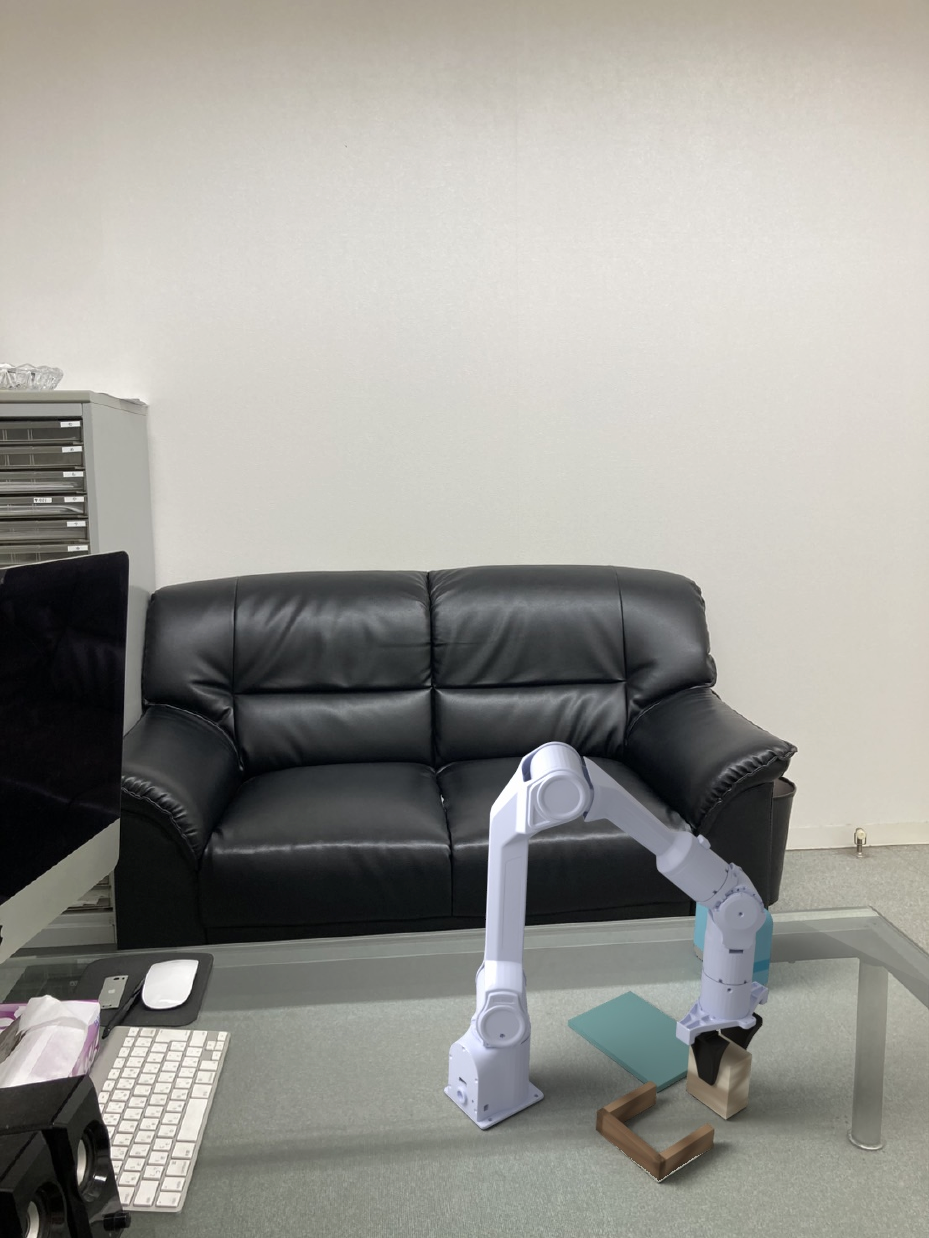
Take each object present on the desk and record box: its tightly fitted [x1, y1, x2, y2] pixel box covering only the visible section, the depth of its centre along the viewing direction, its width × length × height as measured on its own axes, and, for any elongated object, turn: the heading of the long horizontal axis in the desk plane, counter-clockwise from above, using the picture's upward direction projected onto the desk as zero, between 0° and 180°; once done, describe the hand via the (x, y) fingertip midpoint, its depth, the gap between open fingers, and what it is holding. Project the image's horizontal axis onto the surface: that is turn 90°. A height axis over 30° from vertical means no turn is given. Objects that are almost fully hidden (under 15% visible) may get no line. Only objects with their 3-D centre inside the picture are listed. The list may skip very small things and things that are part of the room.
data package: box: [693, 902, 774, 986], centre depth 140 cm, size 12×4×12 cm, turn 23°
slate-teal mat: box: [567, 990, 690, 1094], centre depth 125 cm, size 12×16×1 cm
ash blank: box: [685, 1032, 753, 1120], centre depth 113 cm, size 4×6×7 cm, turn 36°
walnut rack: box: [595, 1081, 715, 1181], centre depth 107 cm, size 9×10×2 cm
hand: (718, 1073), depth 113 cm, fingers closed on ash blank, 4 cm apart
